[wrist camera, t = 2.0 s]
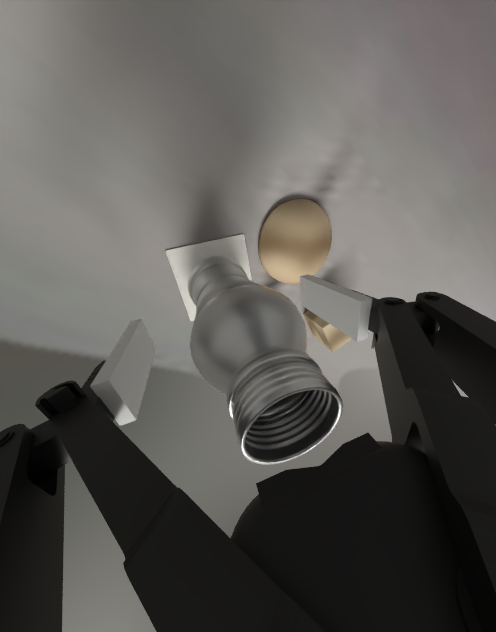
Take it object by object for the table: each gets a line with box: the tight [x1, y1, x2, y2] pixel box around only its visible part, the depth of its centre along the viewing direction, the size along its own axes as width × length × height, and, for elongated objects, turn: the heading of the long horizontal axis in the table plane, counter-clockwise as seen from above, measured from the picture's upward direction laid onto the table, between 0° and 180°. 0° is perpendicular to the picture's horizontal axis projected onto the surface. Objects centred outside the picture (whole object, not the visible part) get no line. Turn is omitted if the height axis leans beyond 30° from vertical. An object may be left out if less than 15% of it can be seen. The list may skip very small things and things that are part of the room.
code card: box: [166, 234, 252, 321], centre depth 24 cm, size 9×9×1 cm
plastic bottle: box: [187, 256, 343, 465], centre depth 15 cm, size 6×7×20 cm
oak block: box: [304, 310, 352, 352], centre depth 29 cm, size 5×5×5 cm
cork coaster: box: [258, 199, 332, 284], centre depth 24 cm, size 10×10×1 cm
